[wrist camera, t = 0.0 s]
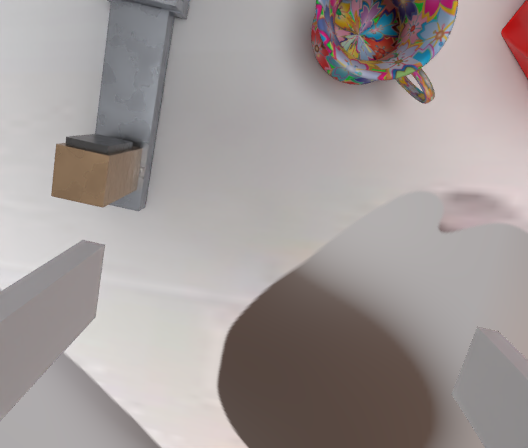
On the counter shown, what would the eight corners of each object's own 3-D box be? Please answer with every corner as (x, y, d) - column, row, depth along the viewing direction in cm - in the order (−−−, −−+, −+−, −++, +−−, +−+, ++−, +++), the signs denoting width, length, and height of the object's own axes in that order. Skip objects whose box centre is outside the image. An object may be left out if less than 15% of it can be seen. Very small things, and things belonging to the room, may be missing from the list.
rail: (119, -100, 36) (61, -180, 26) (202, -81, 36) (174, -153, 27) (85, 193, 43) (28, 216, 33) (155, 209, 43) (119, 236, 33)
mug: (285, 23, 38) (288, -12, 28) (374, -46, 37) (412, -109, 26) (358, 134, 40) (385, 140, 30) (444, 74, 39) (504, 58, 28)
